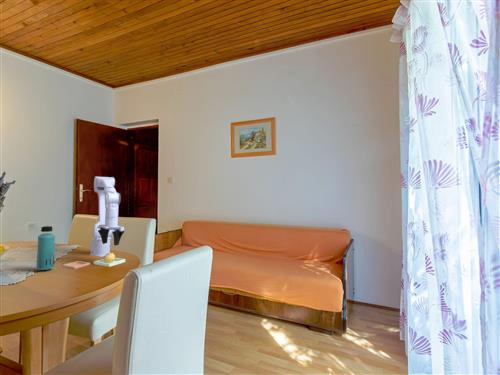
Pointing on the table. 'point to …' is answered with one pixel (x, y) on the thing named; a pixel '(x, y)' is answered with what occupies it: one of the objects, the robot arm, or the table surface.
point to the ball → (109, 257)
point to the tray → (103, 263)
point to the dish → (76, 264)
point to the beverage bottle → (45, 249)
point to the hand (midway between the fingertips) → (110, 244)
